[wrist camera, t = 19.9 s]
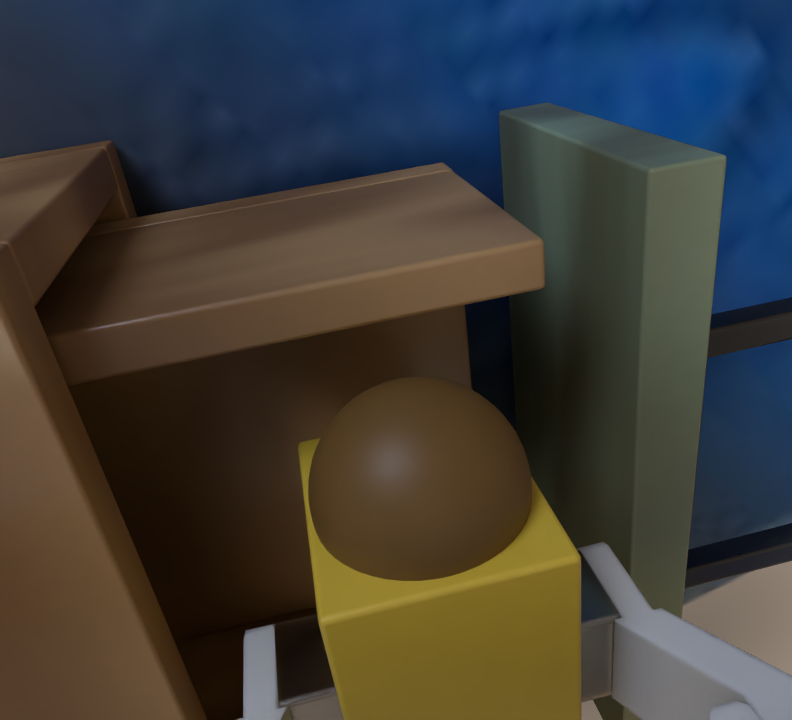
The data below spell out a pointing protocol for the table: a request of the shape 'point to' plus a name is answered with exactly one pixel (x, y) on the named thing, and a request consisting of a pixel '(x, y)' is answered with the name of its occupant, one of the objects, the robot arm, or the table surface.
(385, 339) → the drawer
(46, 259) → the cabinet
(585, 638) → the robot arm
